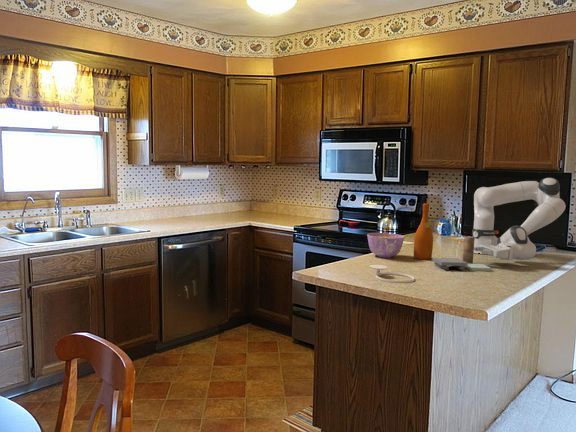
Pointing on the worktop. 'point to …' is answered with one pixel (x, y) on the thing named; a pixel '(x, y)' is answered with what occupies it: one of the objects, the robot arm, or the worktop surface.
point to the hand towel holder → (381, 267)
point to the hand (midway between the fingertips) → (478, 250)
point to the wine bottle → (423, 237)
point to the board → (478, 267)
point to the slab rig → (450, 263)
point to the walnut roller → (468, 249)
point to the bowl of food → (385, 244)
